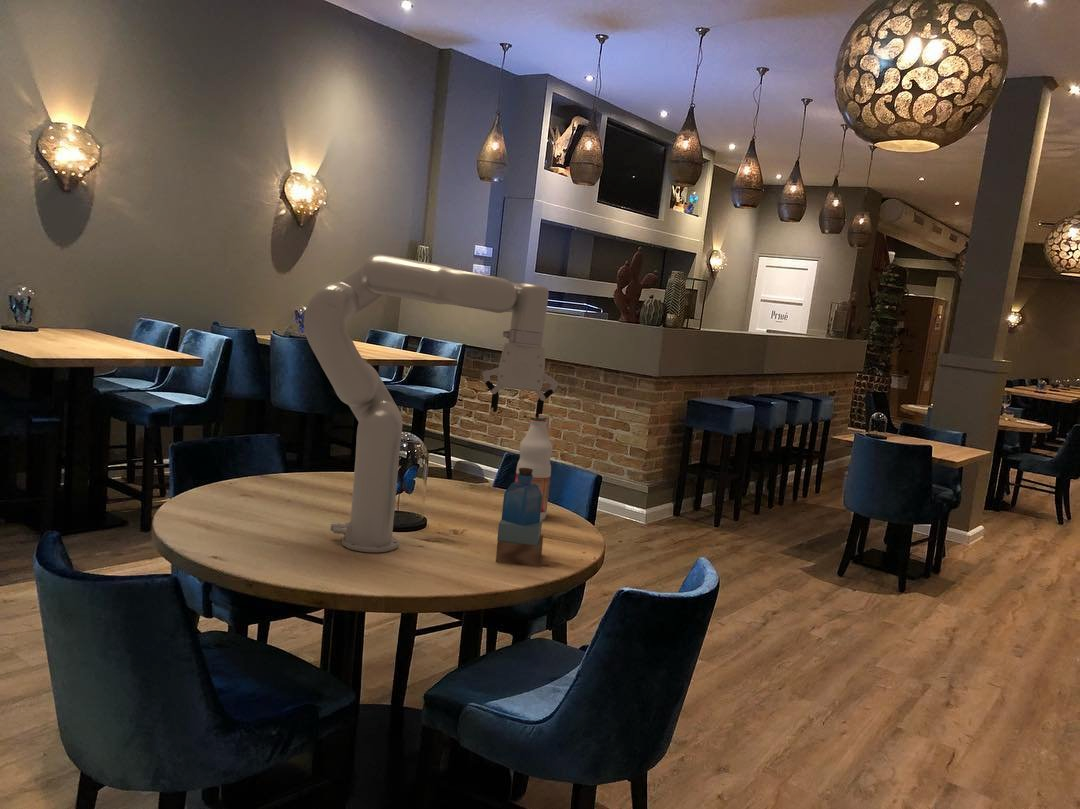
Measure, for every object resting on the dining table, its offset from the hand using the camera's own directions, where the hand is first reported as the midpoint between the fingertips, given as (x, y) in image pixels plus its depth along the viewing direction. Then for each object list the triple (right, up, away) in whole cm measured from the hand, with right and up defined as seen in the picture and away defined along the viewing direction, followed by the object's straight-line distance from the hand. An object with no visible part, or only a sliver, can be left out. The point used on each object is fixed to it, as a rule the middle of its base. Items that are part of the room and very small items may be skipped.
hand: (516, 414), depth 193 cm
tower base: (+1, -33, +2) cm, 33 cm away
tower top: (+1, -28, +1) cm, 28 cm away
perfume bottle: (+1, -25, +1) cm, 25 cm away
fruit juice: (+2, -29, +40) cm, 49 cm away
